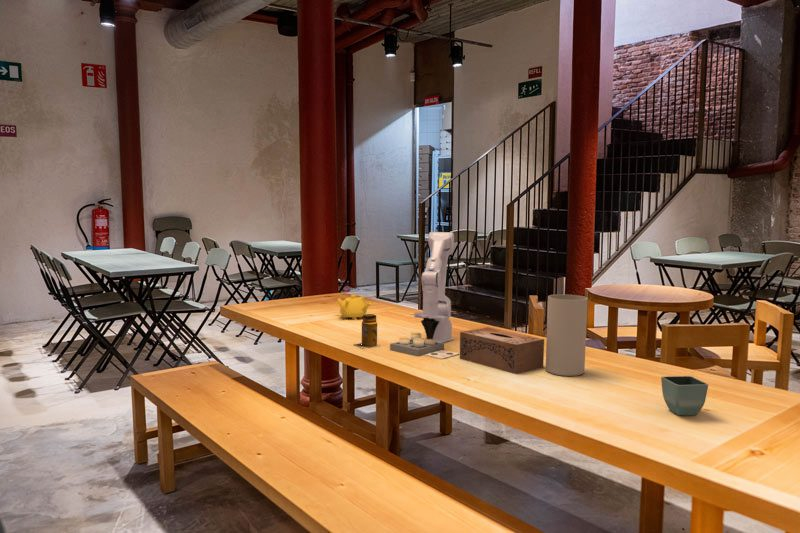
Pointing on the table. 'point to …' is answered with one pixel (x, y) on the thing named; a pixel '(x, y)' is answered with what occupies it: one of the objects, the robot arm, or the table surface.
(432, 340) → the button
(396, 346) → the board
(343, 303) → the teapot
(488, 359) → the tissue box cover
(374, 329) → the condiment
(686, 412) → the flower pot
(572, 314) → the cylinder vase
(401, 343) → the button
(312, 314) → the table surface
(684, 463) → the table surface
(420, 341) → the button
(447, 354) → the card
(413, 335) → the button
